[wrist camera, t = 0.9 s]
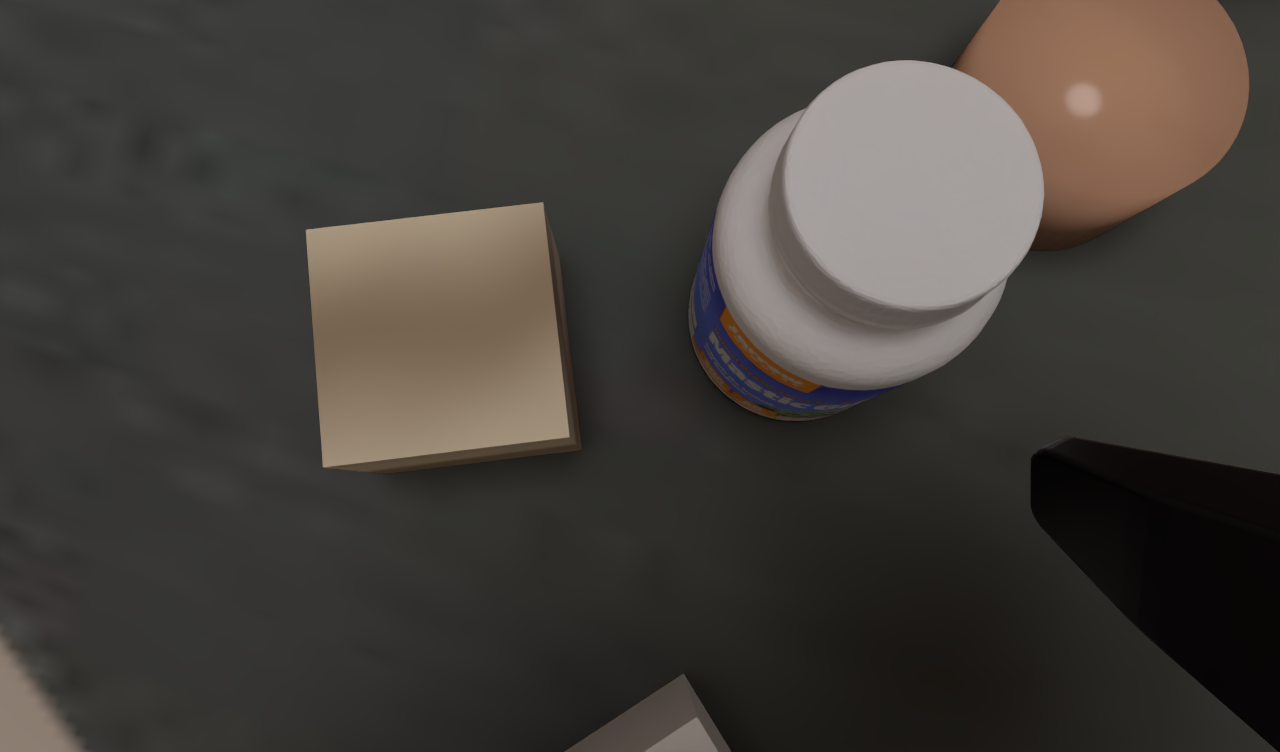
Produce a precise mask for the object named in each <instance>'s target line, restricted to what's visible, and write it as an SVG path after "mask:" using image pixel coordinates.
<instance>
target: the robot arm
mask: <svg viewBox="0 0 1280 752" xmlns="http://www.w3.org/2000/svg"><path fill="white" fill-rule="evenodd" d="M1031 509H1032V513H1033V515H1034V517H1035V519H1036V521H1037V522H1038V524H1039V525H1040V526H1041V527H1042V529H1043V530H1044V531H1045V532H1046V533H1047V534H1048V535H1049V536H1050V537H1051V538H1052V539H1053V540H1054V541H1055V542H1056V543H1057V545H1058V546H1059V547H1060V548H1061V549H1062V550H1063V551H1064V552H1065V553H1066V554H1067V555H1068V556H1069V557H1070V558H1071V559H1072V560H1073V561H1074V562H1075V563H1076V565H1077V566H1078V567H1079V568H1080V569H1081V570H1082V571H1083V572H1084V573H1085V574H1086V575H1087V576H1088V577H1089V578H1090V579H1091V580H1092V581H1093V582H1094V584H1095V585H1096V586H1097V587H1098V588H1099V589H1100V590H1101V591H1102V592H1103V593H1104V594H1105V595H1106V596H1107V597H1108V598H1109V599H1110V600H1111V601H1112V603H1113V604H1114V605H1115V606H1116V607H1117V608H1118V609H1119V610H1120V611H1121V612H1122V613H1123V614H1124V615H1125V616H1126V617H1127V618H1128V619H1129V620H1130V621H1131V622H1132V623H1133V624H1134V625H1135V626H1136V627H1137V628H1138V629H1139V630H1140V631H1142V632H1143V633H1144V634H1145V635H1146V636H1147V637H1148V638H1149V639H1150V640H1151V641H1152V642H1154V643H1155V644H1156V645H1157V646H1158V647H1159V648H1160V649H1162V650H1163V651H1164V652H1165V653H1166V654H1167V655H1168V656H1170V657H1171V658H1172V659H1173V660H1174V661H1175V662H1176V663H1178V664H1179V665H1180V666H1181V667H1182V668H1183V669H1184V670H1186V671H1187V672H1188V673H1189V674H1190V675H1191V676H1192V677H1194V678H1195V679H1196V680H1197V681H1198V682H1199V683H1200V684H1202V685H1203V686H1204V687H1205V688H1206V689H1207V690H1208V691H1210V692H1211V693H1212V694H1213V695H1214V696H1215V697H1216V698H1218V699H1219V700H1220V701H1221V702H1222V703H1223V704H1224V705H1226V706H1227V707H1228V708H1229V709H1230V710H1231V711H1232V712H1234V713H1235V714H1236V715H1237V716H1238V717H1239V718H1240V719H1242V720H1243V721H1244V722H1245V723H1246V724H1247V725H1248V726H1250V727H1251V728H1252V729H1253V730H1254V731H1255V732H1257V733H1258V734H1259V735H1260V736H1261V737H1262V738H1263V739H1265V740H1266V741H1267V742H1268V743H1269V744H1270V745H1271V746H1273V747H1274V748H1275V749H1276V750H1277V751H1278V752H1280V475H1279V474H1274V473H1268V472H1263V471H1257V470H1252V469H1246V468H1241V467H1235V466H1230V465H1224V464H1219V463H1213V462H1208V461H1202V460H1197V459H1191V458H1186V457H1180V456H1175V455H1169V454H1164V453H1158V452H1153V451H1147V450H1142V449H1136V448H1131V447H1125V446H1120V445H1114V444H1109V443H1103V442H1098V441H1092V440H1087V439H1081V438H1075V437H1062V438H1059V439H1056V440H1054V441H1053V442H1051V443H1049V444H1047V445H1045V446H1043V447H1041V448H1039V449H1037V450H1036V451H1035V452H1034V454H1033V456H1032V458H1031Z"/></svg>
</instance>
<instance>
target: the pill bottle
mask: <svg viewBox="0 0 1280 752" xmlns="http://www.w3.org/2000/svg"><path fill="white" fill-rule="evenodd" d="M1043 202H1044V180H1043V172H1042V167H1041V163H1040V159H1039V156H1038V153H1037V150H1036V147H1035V144H1034V142H1033V140H1032V138H1031V136H1030V134H1029V132H1028V130H1027V129H1026V127H1025V125H1024V123H1023V122H1022V120H1021V118H1020V117H1019V116H1018V115H1017V114H1016V113H1015V111H1014V110H1013V109H1012V108H1011V107H1010V106H1009V105H1008V104H1007V103H1006V102H1005V100H1004V99H1003V98H1002V97H1000V96H999V95H998V94H996V93H995V92H994V91H993V90H991V89H990V88H989V87H988V86H986V85H985V84H983V83H982V82H980V81H978V80H977V79H975V78H973V77H971V76H969V75H967V74H965V73H963V72H960V71H958V70H955V69H953V68H950V67H946V66H943V65H939V64H935V63H930V62H922V61H914V60H906V61H890V62H883V63H879V64H875V65H871V66H868V67H865V68H861V69H858V70H856V71H854V72H852V73H849V74H847V75H845V76H843V77H842V78H840V79H838V80H837V81H835V82H834V83H832V84H831V85H830V86H829V87H827V88H826V89H825V90H824V91H822V92H821V93H820V94H819V95H818V96H817V97H816V98H815V99H814V100H813V101H812V102H811V103H810V105H809V106H808V107H807V108H806V109H803V110H801V111H798V112H796V113H794V114H792V115H790V116H789V117H787V118H785V119H784V120H782V121H780V122H778V123H777V124H776V125H774V126H773V127H772V128H771V129H769V130H768V131H767V132H765V133H764V134H763V135H762V136H761V137H760V138H759V139H758V140H757V141H756V142H755V143H754V144H753V145H752V146H751V147H750V149H749V150H748V151H747V152H746V154H745V155H744V156H743V157H742V158H741V160H740V161H739V163H738V164H737V166H736V167H735V169H734V170H733V172H732V174H731V175H730V177H729V179H728V181H727V183H726V186H725V188H724V190H723V192H722V195H721V198H720V200H719V203H718V206H717V209H716V213H715V216H714V219H713V222H712V225H711V228H710V231H709V235H708V238H707V241H706V244H705V247H704V250H703V253H702V257H701V260H700V263H699V265H698V268H697V272H696V275H695V278H694V281H693V285H692V289H691V294H690V300H689V311H688V317H689V330H690V335H691V340H692V344H693V348H694V350H695V353H696V355H697V357H698V359H699V362H700V364H701V365H702V367H703V369H704V370H705V372H706V373H707V375H708V376H709V378H710V379H711V380H712V381H713V383H714V384H715V385H716V386H717V387H718V388H719V389H720V390H721V391H722V392H723V393H724V394H725V395H726V396H728V397H729V398H730V399H732V400H733V401H734V402H736V403H737V404H739V405H741V406H742V407H744V408H746V409H747V410H750V411H752V412H754V413H757V414H759V415H762V416H765V417H769V418H773V419H778V420H787V421H806V420H813V419H818V418H823V417H827V416H831V415H834V414H836V413H839V412H841V411H844V410H846V409H848V408H851V407H853V406H855V405H857V404H859V403H862V402H864V401H866V400H868V399H871V398H873V397H875V396H877V395H879V394H882V393H884V392H886V391H889V390H891V389H893V388H896V387H898V386H901V385H903V384H906V383H908V382H910V381H913V380H915V379H917V378H919V377H922V376H924V375H926V374H928V373H930V372H932V371H934V370H936V369H938V368H940V367H941V366H943V365H945V364H946V363H948V362H949V361H950V360H952V359H953V358H954V357H956V356H957V355H958V354H959V353H961V352H962V351H963V350H964V349H965V348H966V347H967V346H968V345H969V344H970V343H971V342H972V341H973V340H974V339H975V338H976V337H977V336H978V334H979V333H980V332H981V330H982V329H983V327H984V326H985V324H986V323H987V321H988V320H989V318H990V317H991V316H992V314H993V312H994V310H995V309H996V307H997V305H998V303H999V301H1000V299H1001V296H1002V293H1003V291H1004V288H1005V284H1006V281H1007V278H1008V277H1009V276H1010V275H1011V273H1012V272H1013V271H1014V270H1015V269H1016V268H1017V267H1018V265H1019V264H1020V263H1021V261H1022V260H1023V258H1024V257H1025V255H1026V254H1027V253H1028V251H1029V249H1030V247H1031V245H1032V243H1033V241H1034V238H1035V236H1036V233H1037V230H1038V228H1039V225H1040V221H1041V217H1042V210H1043Z"/></svg>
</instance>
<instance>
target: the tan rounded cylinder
mask: <svg viewBox="0 0 1280 752" xmlns="http://www.w3.org/2000/svg"><path fill="white" fill-rule="evenodd" d="M951 68H953V69H955V70H958V71H960V72H963V73H965V74H967V75H969V76H971V77H973V78H975V79H977V80H978V81H980V82H982V83H983V84H985V85H986V86H988V87H989V88H990V89H991V90H993V91H994V92H995V93H996V94H998V95H999V96H1000V97H1002V98H1003V99H1004V100H1005V102H1006V103H1007V104H1008V105H1009V106H1010V107H1011V108H1012V109H1013V110H1014V111H1015V113H1016V114H1017V115H1018V116H1019V117H1020V118H1021V120H1022V122H1023V123H1024V125H1025V127H1026V129H1027V130H1028V132H1029V134H1030V136H1031V138H1032V140H1033V142H1034V144H1035V147H1036V150H1037V153H1038V156H1039V159H1040V163H1041V167H1042V172H1043V180H1044V202H1043V210H1042V217H1041V221H1040V225H1039V228H1038V230H1037V233H1036V236H1035V238H1034V241H1033V243H1032V245H1031V247H1030V249H1029V250H1034V251H1052V250H1060V249H1066V248H1071V247H1074V246H1077V245H1080V244H1083V243H1086V242H1088V241H1090V240H1092V239H1094V238H1096V237H1098V236H1100V235H1101V234H1103V233H1105V232H1107V231H1108V230H1110V229H1112V228H1114V227H1115V226H1117V225H1119V224H1121V223H1122V222H1124V221H1126V220H1128V219H1130V218H1131V217H1133V216H1135V215H1137V214H1138V213H1140V212H1142V211H1144V210H1145V209H1147V208H1149V207H1151V206H1152V205H1154V204H1156V203H1158V202H1159V201H1161V200H1163V199H1165V198H1166V197H1168V196H1170V195H1172V194H1173V193H1175V192H1177V191H1179V190H1181V189H1182V188H1184V187H1186V186H1188V185H1189V184H1191V183H1193V182H1194V181H1196V180H1197V179H1199V178H1200V177H1202V176H1203V175H1205V174H1206V173H1207V172H1208V171H1209V170H1210V169H1212V168H1213V167H1214V166H1215V165H1216V164H1217V163H1218V162H1219V161H1220V160H1221V158H1222V157H1223V156H1224V155H1225V154H1226V152H1227V151H1228V150H1229V148H1230V147H1231V145H1232V143H1233V142H1234V140H1235V139H1236V137H1237V135H1238V132H1239V130H1240V128H1241V125H1242V123H1243V120H1244V117H1245V113H1246V109H1247V104H1248V95H1249V71H1248V65H1247V59H1246V55H1245V52H1244V48H1243V45H1242V42H1241V39H1240V37H1239V35H1238V33H1237V30H1236V28H1235V26H1234V24H1233V22H1232V21H1231V19H1230V18H1229V16H1228V14H1227V13H1226V11H1225V10H1224V8H1223V7H1222V6H1221V5H1220V3H1219V2H1218V1H1217V0H1000V2H999V3H998V4H997V6H996V7H995V8H994V10H993V11H992V13H991V14H990V15H989V17H988V18H987V19H986V21H985V22H984V23H983V25H982V26H981V27H980V29H979V30H978V32H977V33H976V34H975V36H974V37H973V38H972V40H971V41H970V42H969V44H968V45H967V46H966V48H965V49H964V51H963V52H962V53H961V55H960V56H959V57H958V59H957V60H956V61H955V63H954V64H953V65H952V67H951Z"/></svg>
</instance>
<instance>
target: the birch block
mask: <svg viewBox="0 0 1280 752" xmlns="http://www.w3.org/2000/svg"><path fill="white" fill-rule="evenodd" d="M306 238H307V252H308V266H309V280H310V293H311V307H312V321H313V335H314V348H315V362H316V376H317V390H318V404H319V417H320V431H321V445H322V459H323V468H332V469H342V470H351V471H360V472H369V473H378V474H389V473H398V472H406V471H414V470H422V469H430V468H438V467H446V466H454V465H462V464H470V463H478V462H487V461H495V460H503V459H511V458H519V457H527V456H535V455H543V454H551V453H559V452H567V451H576V450H582V448H581V439H580V431H579V422H578V413H577V405H576V396H575V387H574V378H573V370H572V361H571V352H570V343H569V335H568V326H567V317H566V308H565V300H564V291H563V282H562V273H561V265H560V258H559V255H558V251H557V248H556V245H555V241H554V238H553V234H552V231H551V227H550V224H549V221H548V217H547V214H546V210H545V207H544V204H543V202H542V203H534V204H525V205H516V206H508V207H499V208H490V209H482V210H473V211H464V212H456V213H447V214H438V215H430V216H421V217H412V218H404V219H395V220H386V221H378V222H369V223H361V224H352V225H343V226H335V227H326V228H317V229H309V230H306Z"/></svg>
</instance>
